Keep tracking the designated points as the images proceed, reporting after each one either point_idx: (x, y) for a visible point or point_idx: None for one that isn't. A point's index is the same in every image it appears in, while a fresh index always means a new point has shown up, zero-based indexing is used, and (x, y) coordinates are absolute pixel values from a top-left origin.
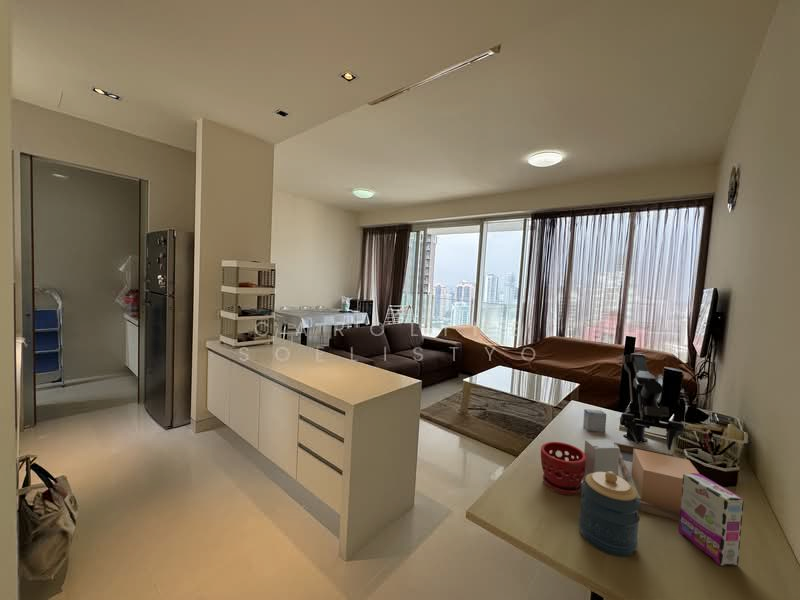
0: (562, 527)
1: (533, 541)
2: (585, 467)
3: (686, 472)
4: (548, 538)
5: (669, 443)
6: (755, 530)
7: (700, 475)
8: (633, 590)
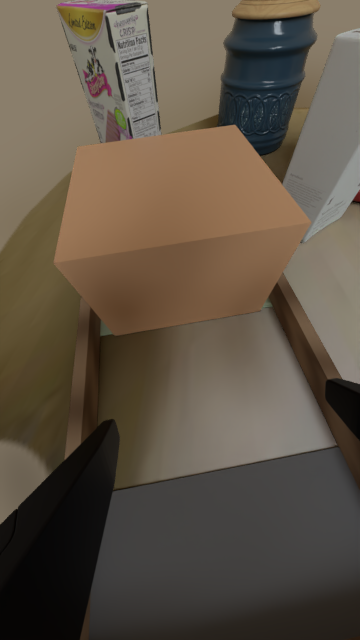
0: (296, 132)
1: (306, 112)
2: None
3: (114, 165)
4: (298, 119)
5: (86, 455)
6: (34, 253)
7: (105, 7)
8: (213, 117)
